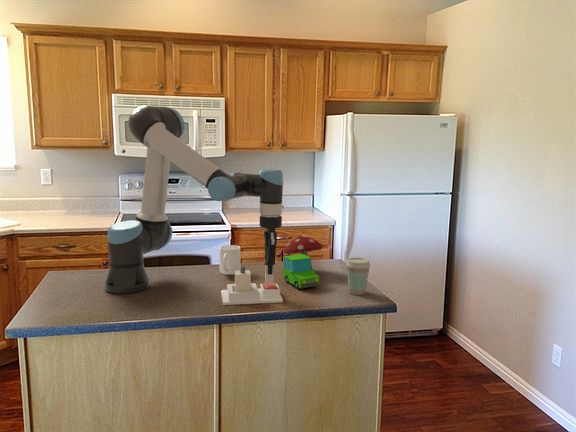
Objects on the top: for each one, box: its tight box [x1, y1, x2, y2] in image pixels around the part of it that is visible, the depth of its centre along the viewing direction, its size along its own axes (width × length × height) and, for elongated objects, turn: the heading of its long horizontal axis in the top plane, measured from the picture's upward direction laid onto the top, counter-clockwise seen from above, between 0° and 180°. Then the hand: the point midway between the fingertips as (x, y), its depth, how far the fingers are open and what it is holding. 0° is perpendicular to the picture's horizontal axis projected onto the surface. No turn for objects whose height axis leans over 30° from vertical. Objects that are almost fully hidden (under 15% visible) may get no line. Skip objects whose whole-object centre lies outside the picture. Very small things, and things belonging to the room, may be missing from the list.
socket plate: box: [220, 282, 284, 306], centre depth 169 cm, size 20×13×3 cm, turn 100°
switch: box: [262, 282, 277, 290], centre depth 170 cm, size 4×5×2 cm
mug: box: [219, 244, 241, 276], centre depth 195 cm, size 12×8×10 cm
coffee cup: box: [345, 257, 371, 296], centre depth 175 cm, size 9×8×12 cm
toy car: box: [283, 253, 320, 290], centre depth 183 cm, size 10×13×10 cm
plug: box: [234, 265, 252, 292], centre depth 168 cm, size 5×5×10 cm
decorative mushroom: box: [283, 234, 324, 257], centre depth 199 cm, size 16×16×15 cm
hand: (269, 282), depth 170 cm, fingers closed
